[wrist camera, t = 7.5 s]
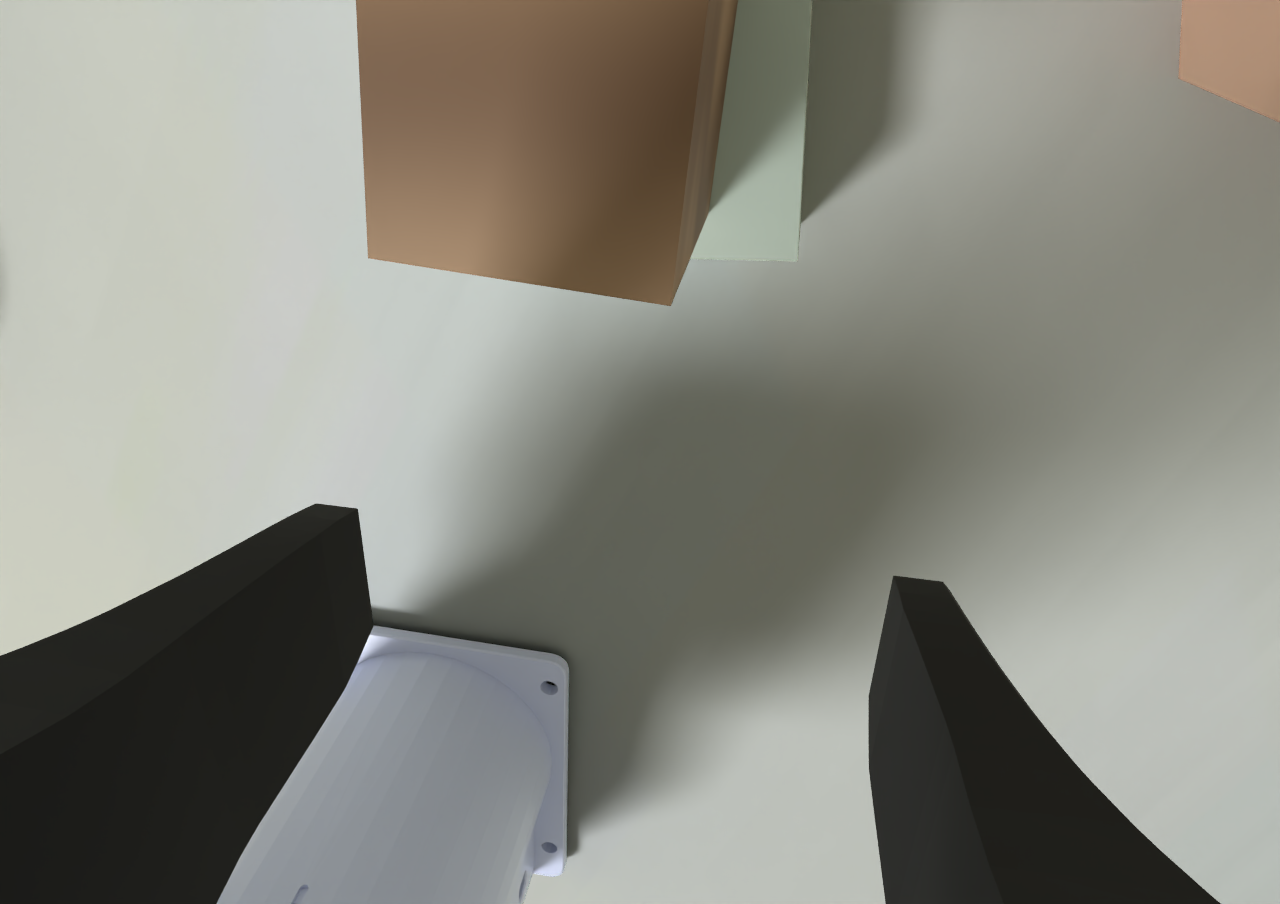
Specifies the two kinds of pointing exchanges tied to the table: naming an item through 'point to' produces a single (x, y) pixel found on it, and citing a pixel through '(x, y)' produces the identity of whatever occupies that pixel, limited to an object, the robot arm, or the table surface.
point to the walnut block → (543, 137)
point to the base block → (761, 137)
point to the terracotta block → (1233, 51)
